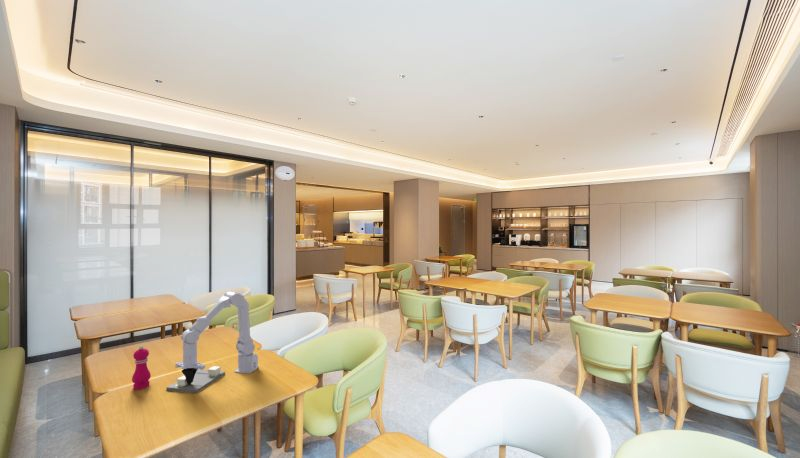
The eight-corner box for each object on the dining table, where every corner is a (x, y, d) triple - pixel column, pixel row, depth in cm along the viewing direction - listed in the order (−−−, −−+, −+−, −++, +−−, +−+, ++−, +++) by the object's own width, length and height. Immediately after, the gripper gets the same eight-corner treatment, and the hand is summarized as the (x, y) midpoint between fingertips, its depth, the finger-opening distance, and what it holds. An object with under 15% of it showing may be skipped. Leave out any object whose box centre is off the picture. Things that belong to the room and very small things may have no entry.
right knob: (220, 372, 175) (220, 366, 175) (215, 375, 171) (215, 369, 171) (213, 371, 176) (213, 366, 176) (208, 375, 172) (208, 369, 172)
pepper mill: (140, 391, 159) (140, 349, 159) (128, 389, 161) (127, 347, 160) (154, 383, 166) (154, 343, 166) (142, 382, 168) (142, 342, 167)
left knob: (191, 381, 164) (191, 375, 164) (184, 385, 160) (184, 379, 160) (183, 381, 165) (183, 375, 165) (177, 385, 161) (177, 378, 161)
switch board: (225, 374, 177) (225, 371, 177) (196, 393, 157) (196, 389, 157) (198, 372, 180) (198, 368, 180) (166, 390, 160) (166, 386, 160)
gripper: (170, 357, 159) (170, 385, 159) (197, 359, 157) (197, 388, 157) (181, 351, 166) (182, 378, 166) (208, 353, 164) (208, 381, 164)
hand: (190, 382), depth 162 cm, fingers closed
